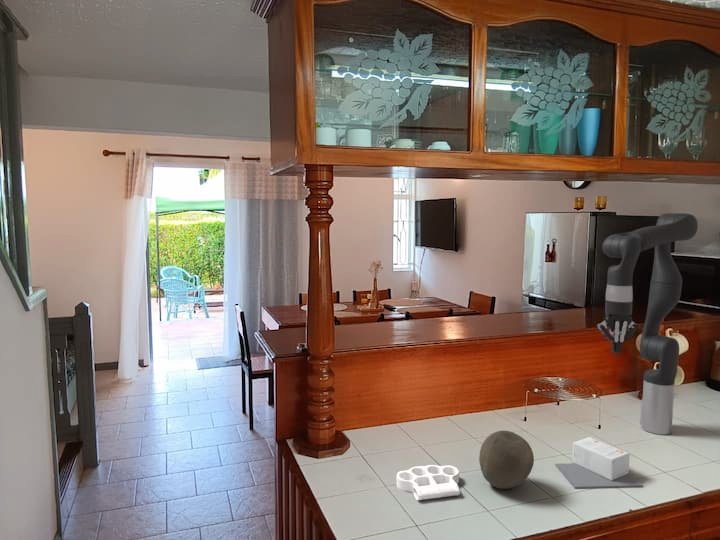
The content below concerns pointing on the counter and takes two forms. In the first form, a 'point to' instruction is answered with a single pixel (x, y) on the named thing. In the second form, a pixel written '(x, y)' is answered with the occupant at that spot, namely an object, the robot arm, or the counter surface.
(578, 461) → the small box
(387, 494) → the counter surface
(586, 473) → the mat
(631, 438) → the counter surface
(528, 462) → the cantaloupe
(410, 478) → the knuckle duster
